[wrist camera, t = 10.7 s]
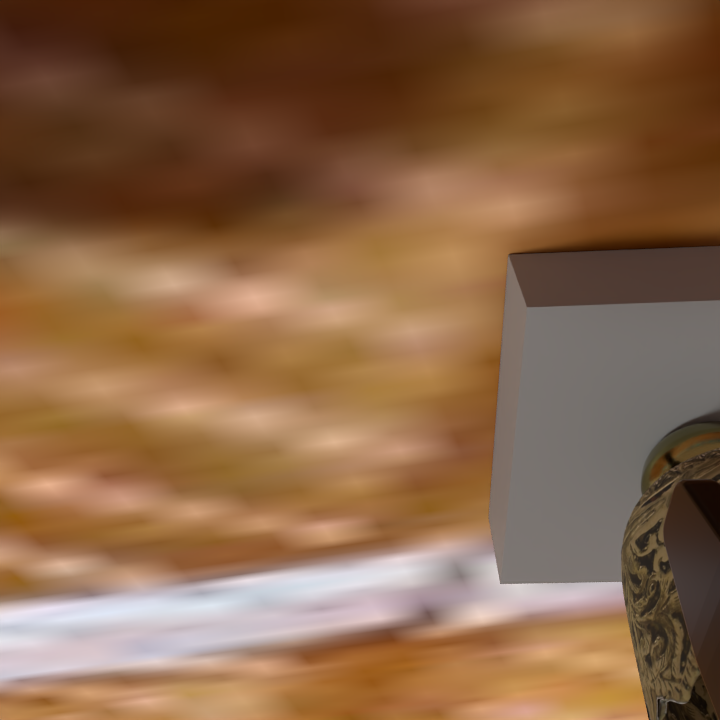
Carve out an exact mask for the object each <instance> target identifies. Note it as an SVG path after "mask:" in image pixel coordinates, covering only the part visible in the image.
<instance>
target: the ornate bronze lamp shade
mask: <svg viewBox="0 0 720 720" xmlns="http://www.w3.org/2000/svg"><path fill="white" fill-rule="evenodd" d="M684 479H712V480H714V481H717V482H718V483H720V421H708V422H701V423H696V424H692V425H689V426H686V427H683V428H681V429H679V430H677V431H675V432H673V433H671V434H669V435H668V436H666V437H665V438H664V439H662V440H661V441H660V442H659V443H658V444H657V445H656V446H655V447H654V448H653V449H652V450H651V452H650V453H649V455H648V456H647V458H646V460H645V463H644V466H643V470H642V476H641V494H642V497H641V498H640V500H639V501H638V503H637V504H636V506H635V507H634V509H633V511H632V513H631V516H630V518H629V520H628V523H627V526H626V529H625V532H624V538H623V544H622V550H621V576H622V585H623V594H624V600H625V606H626V612H627V617H628V622H629V627H630V632H631V638H632V643H633V647H634V652H635V657H636V662H637V667H638V671H639V676H640V681H641V685H642V690H643V695H644V699H645V704H646V708H647V713H648V718H649V720H718V717H717V714H716V712H715V709H714V707H713V704H712V702H711V699H710V696H709V694H708V691H707V689H706V686H705V684H704V681H703V678H702V676H701V673H700V670H699V667H698V664H697V662H696V659H695V655H694V652H693V648H692V645H691V642H690V638H689V634H688V631H687V627H686V623H685V619H684V615H683V612H682V608H681V604H680V600H679V597H678V593H677V589H676V585H675V582H674V578H673V574H672V570H671V567H670V563H669V559H668V555H667V552H666V548H665V544H664V538H663V526H664V521H665V518H666V514H667V511H668V507H669V504H670V500H671V497H672V494H673V490H674V487H675V485H676V484H677V483H678V482H679V481H680V480H684Z"/></svg>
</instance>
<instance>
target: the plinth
mask: <svg viewBox="0 0 720 720" xmlns="http://www.w3.org/2000/svg"><path fill="white" fill-rule="evenodd" d="M708 421H720V246H705V247H681V248H657V249H632V250H608V251H583V252H559V253H535V254H510V255H508V266H507V279H506V293H505V306H504V319H503V333H502V346H501V359H500V373H499V386H498V399H497V413H496V426H495V439H494V453H493V466H492V479H491V492H490V506H489V523H490V528H491V534H492V540H493V545H494V551H495V557H496V562H497V568H498V573H499V579H500V584H522V583H575V582H622V576H621V550H622V544H623V538H624V532H625V529H626V526H627V523H628V520H629V518H630V516H631V513H632V511H633V509H634V507H635V506H636V504H637V503H638V501H639V500H640V498H641V497H642V494H641V476H642V470H643V466H644V463H645V460H646V458H647V456H648V455H649V453H650V452H651V450H652V449H653V448H654V447H655V446H656V445H657V444H658V443H659V442H660V441H661V440H662V439H664V438H665V437H666V436H668V435H669V434H671V433H673V432H675V431H677V430H679V429H681V428H683V427H686V426H689V425H692V424H696V423H701V422H708Z"/></svg>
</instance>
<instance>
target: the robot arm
mask: <svg viewBox="0 0 720 720" xmlns="http://www.w3.org/2000/svg"><path fill="white" fill-rule="evenodd" d="M663 538H664V544H665V548H666V552H667V555H668V559H669V563H670V567H671V570H672V574H673V578H674V582H675V585H676V589H677V593H678V597H679V600H680V604H681V608H682V612H683V615H684V619H685V623H686V627H687V631H688V634H689V638H690V642H691V645H692V648H693V652H694V655H695V659H696V662H697V664H698V667H699V670H700V673H701V676H702V678H703V681H704V684H705V686H706V689H707V691H708V694H709V696H710V699H711V702H712V704H713V707H714V709H715V712H716V714H717V717H718V720H720V483H718V482H717V481H714V480H712V479H684V480H680V481H679V482H678V483H677V484H676V485H675V487H674V490H673V494H672V497H671V500H670V504H669V507H668V511H667V514H666V518H665V521H664V526H663Z"/></svg>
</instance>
